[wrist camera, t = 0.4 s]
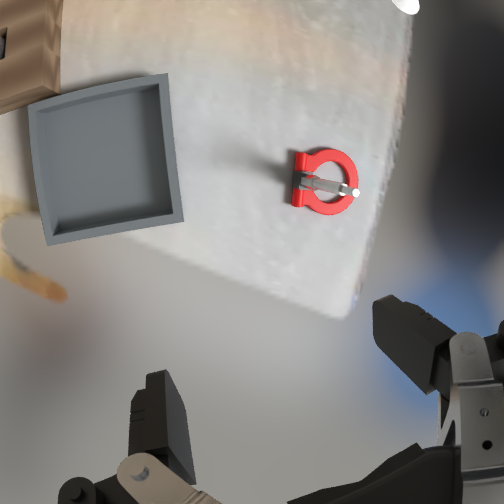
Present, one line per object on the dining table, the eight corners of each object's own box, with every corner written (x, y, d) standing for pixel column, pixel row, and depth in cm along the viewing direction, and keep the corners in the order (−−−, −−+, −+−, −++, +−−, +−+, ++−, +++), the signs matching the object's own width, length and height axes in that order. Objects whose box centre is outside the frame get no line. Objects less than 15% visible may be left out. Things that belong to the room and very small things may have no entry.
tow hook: (356, 153, 40) (293, 144, 38) (424, 159, 28) (353, 144, 26) (350, 214, 43) (288, 212, 40) (414, 239, 31) (342, 238, 28)
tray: (39, 108, 29) (27, 105, 26) (168, 80, 32) (167, 73, 29) (57, 238, 34) (47, 246, 31) (183, 215, 37) (184, 221, 34)
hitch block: (-24, 34, 22) (-45, 22, 16) (63, -2, 25) (49, -22, 19) (-29, 126, 26) (-54, 125, 21) (60, 94, 29) (42, 85, 24)
